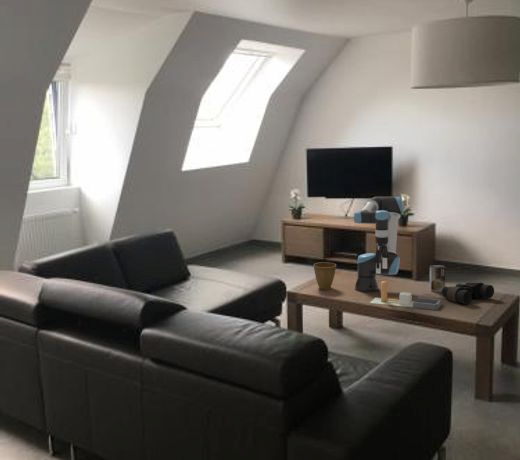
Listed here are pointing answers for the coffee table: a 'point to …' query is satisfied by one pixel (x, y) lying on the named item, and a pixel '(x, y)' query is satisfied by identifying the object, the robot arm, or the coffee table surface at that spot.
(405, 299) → the pull block
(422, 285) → the coffee table surface
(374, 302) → the lane rack
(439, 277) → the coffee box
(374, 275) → the robot arm
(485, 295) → the binoculars
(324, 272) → the plant pot
